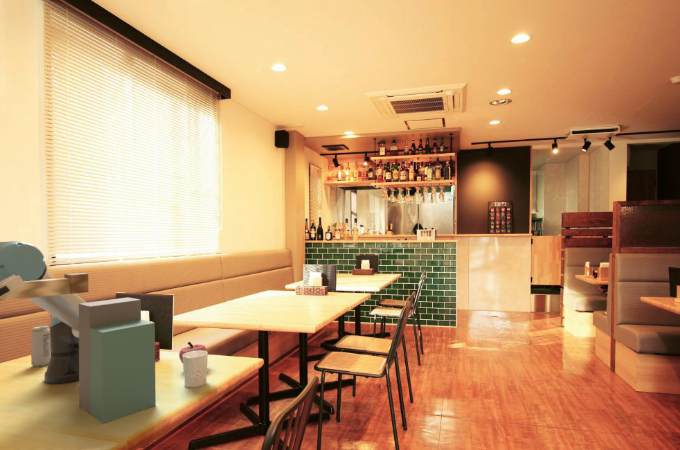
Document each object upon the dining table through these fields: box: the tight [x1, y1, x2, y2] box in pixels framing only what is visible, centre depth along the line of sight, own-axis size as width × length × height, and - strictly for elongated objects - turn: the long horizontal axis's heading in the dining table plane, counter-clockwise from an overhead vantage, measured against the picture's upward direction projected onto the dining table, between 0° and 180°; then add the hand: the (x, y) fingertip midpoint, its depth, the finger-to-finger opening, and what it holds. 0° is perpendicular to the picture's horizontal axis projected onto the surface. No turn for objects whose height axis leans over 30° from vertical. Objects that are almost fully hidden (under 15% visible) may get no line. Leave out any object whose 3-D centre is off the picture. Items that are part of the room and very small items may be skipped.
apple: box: [178, 341, 207, 364], centre depth 149 cm, size 10×9×10 cm
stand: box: [78, 297, 157, 424], centre depth 118 cm, size 14×18×30 cm
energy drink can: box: [30, 325, 51, 368], centre depth 158 cm, size 6×6×15 cm
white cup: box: [182, 350, 209, 388], centre depth 134 cm, size 8×8×10 cm
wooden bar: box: [0, 272, 89, 302], centre depth 102 cm, size 23×6×5 cm, turn 139°
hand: (19, 279), depth 100 cm, fingers closed on wooden bar, 4 cm apart
